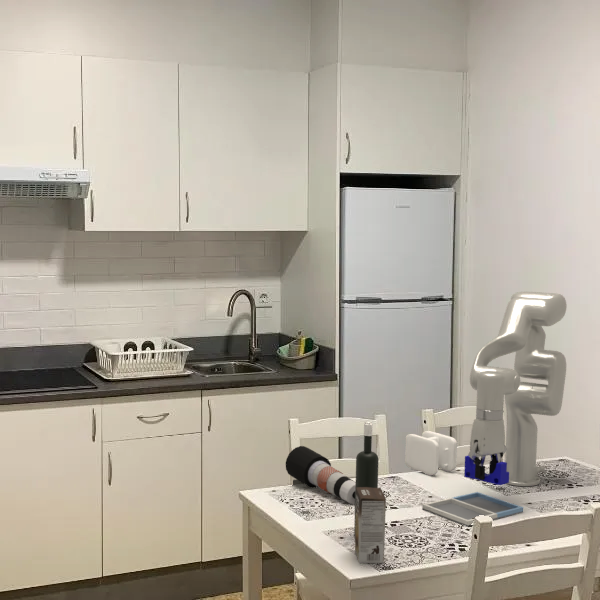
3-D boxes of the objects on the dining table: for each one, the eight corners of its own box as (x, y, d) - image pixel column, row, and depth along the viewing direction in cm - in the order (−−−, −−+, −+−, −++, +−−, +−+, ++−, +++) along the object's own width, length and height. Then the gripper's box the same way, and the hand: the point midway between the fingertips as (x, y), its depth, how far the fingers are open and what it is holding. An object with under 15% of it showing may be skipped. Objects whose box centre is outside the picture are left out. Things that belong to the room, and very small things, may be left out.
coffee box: (353, 549, 238) (355, 486, 237) (379, 549, 239) (381, 486, 237) (357, 563, 229) (359, 497, 228) (384, 563, 230) (386, 497, 228)
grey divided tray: (477, 496, 285) (477, 491, 285) (523, 512, 271) (523, 507, 271) (422, 509, 272) (422, 504, 272) (467, 526, 258) (467, 521, 258)
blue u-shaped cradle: (508, 482, 271) (509, 461, 271) (500, 485, 268) (501, 464, 267) (472, 473, 279) (473, 453, 279) (464, 476, 276) (465, 456, 276)
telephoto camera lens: (358, 525, 271) (348, 497, 267) (291, 483, 299) (281, 457, 294) (384, 504, 276) (375, 477, 271) (316, 465, 303) (306, 439, 299)
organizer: (402, 467, 316) (403, 432, 315) (425, 462, 323) (426, 428, 322) (434, 478, 304) (435, 442, 303) (457, 473, 311) (459, 437, 310)
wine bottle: (360, 540, 245) (363, 425, 242) (350, 533, 251) (353, 420, 248) (380, 537, 248) (383, 423, 245) (369, 530, 253) (372, 419, 250)
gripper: (499, 409, 280) (497, 470, 282) (458, 415, 270) (456, 478, 271) (519, 414, 274) (517, 476, 276) (478, 420, 264) (475, 484, 265)
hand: (486, 476), depth 273 cm, fingers closed on blue u-shaped cradle, 5 cm apart
